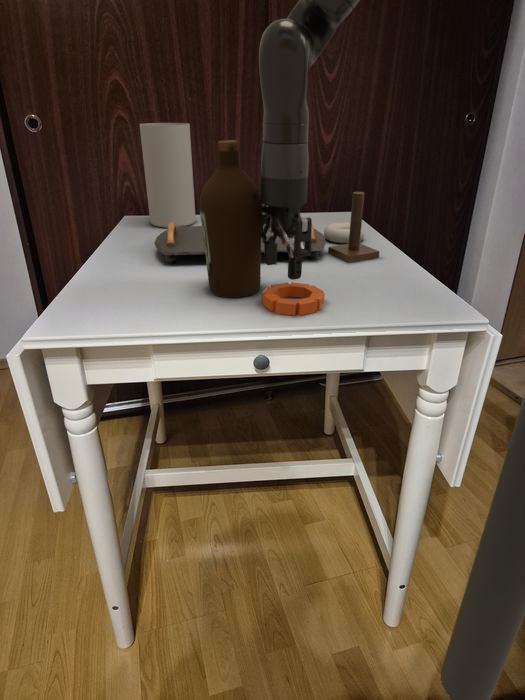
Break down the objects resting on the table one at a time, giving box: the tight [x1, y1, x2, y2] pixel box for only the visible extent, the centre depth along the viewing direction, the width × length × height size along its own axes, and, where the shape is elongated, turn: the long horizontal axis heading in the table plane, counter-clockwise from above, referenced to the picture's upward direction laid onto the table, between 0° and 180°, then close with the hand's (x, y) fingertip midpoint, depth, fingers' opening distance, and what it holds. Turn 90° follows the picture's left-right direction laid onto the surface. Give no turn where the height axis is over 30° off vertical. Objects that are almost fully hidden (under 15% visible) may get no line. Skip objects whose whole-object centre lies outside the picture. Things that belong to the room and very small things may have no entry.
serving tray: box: [154, 222, 327, 265], centre depth 110 cm, size 39×23×6 cm, turn 96°
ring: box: [261, 281, 325, 317], centre depth 82 cm, size 10×10×2 cm
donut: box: [323, 222, 366, 244], centre depth 118 cm, size 10×4×10 cm
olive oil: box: [198, 139, 263, 299], centre depth 83 cm, size 11×11×25 cm
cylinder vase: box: [139, 122, 196, 229], centre depth 129 cm, size 12×12×25 cm
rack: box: [327, 191, 381, 264], centre depth 104 cm, size 8×8×14 cm
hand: (282, 271), depth 84 cm, fingers open, 8 cm apart
